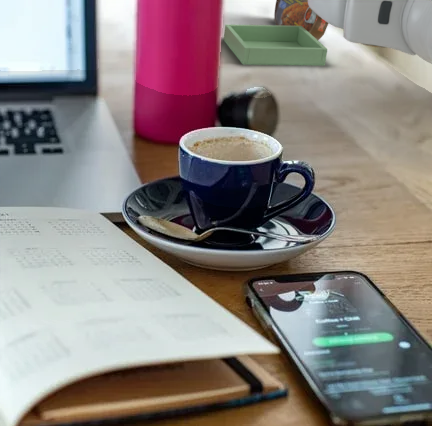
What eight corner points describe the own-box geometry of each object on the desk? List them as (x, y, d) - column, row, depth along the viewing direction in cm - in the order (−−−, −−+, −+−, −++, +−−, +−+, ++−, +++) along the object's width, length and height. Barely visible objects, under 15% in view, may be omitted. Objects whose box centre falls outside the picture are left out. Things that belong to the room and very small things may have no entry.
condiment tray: (298, 44, 127) (301, 25, 126) (324, 68, 117) (327, 49, 116) (223, 43, 126) (225, 24, 124) (242, 67, 116) (244, 47, 114)
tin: (268, 19, 137) (284, -35, 134) (287, 23, 138) (303, -31, 135) (303, 48, 124) (322, -11, 121) (323, 51, 125) (343, -7, 121)
